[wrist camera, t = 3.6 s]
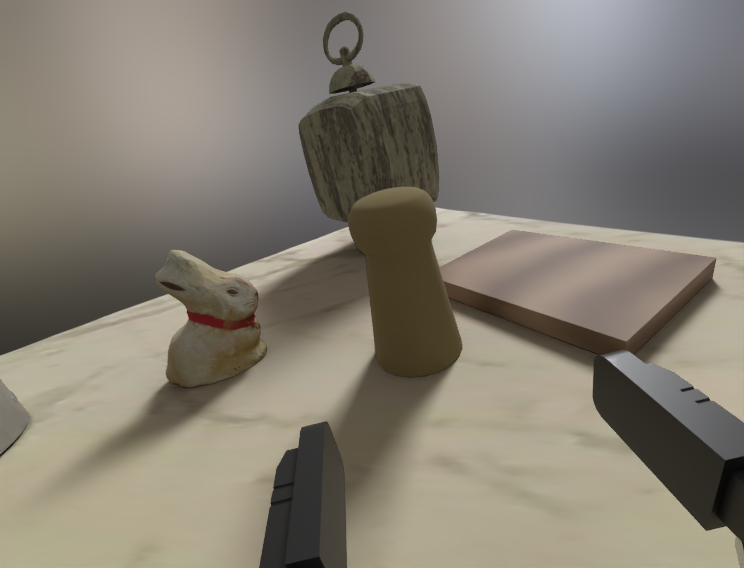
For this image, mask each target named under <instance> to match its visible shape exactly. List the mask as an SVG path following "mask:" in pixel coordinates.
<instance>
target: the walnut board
mask: <svg viewBox="0 0 744 568" xmlns="http://www.w3.org/2000/svg"><path fill="white" fill-rule="evenodd" d="M715 263H716V258H714V257H707V256H699V255H692V254H685V253H678V252H670V251H663V250H656V249H648V248H641V247H634V246H627V245H619V244H612V243H605V242H597V241H590V240H583V239H576V238H568V237H561V236H554V235H546V234H539V233H532V232H525V231H517V230H510V231H509V232H507V233H505V234H503V235H501V236H499V237H497V238H495V239H493V240H491V241H489V242H487V243H486V244H484V245H482V246H480V247H478V248H476V249H474V250H472V251H470V252H468V253H466V254H464V255H463V256H461V257H459V258H457V259H455V260H453V261H451V262H449V263H447V264H445V265H443V266H441V267H439V269H440V272H441V275H442V278H443V282H444V285H445V288H446V291H447V295H448V297H449V298H451V299H454V300H456V301H459V302H462V303H464V304H467V305H470V306H472V307H475V308H478V309H480V310H483V311H486V312H488V313H491V314H493V315H496V316H499V317H501V318H504V319H507V320H509V321H512V322H515V323H517V324H520V325H523V326H525V327H528V328H530V329H533V330H536V331H538V332H541V333H544V334H546V335H549V336H552V337H554V338H557V339H560V340H562V341H565V342H567V343H570V344H573V345H575V346H578V347H581V348H583V349H586V350H589V351H591V352H594V353H597V354H599V355H604V354H608V353H612V352H616V351H620V350H627V351H629V352H630V353H632V354H633V355H634V354H635V353H636V352H637V351H638V350H639V349H640V348H641V347H642V346H643V345H644V344H645V343H646V342H647V341H648V340H649V339H650V338H651V337H652V336H654V335H655V334H656V333H657V332H658V331H659V330H660V329H661V328H662V327H663V326H664V325H665V324H666V323H667V322H668V321H669V320H670V319H671V318H672V317H673V316H674V315H675V314H676V313H677V312H678V311H679V310H680V309H681V308H682V307H683V306H684V305H685V304H686V303H687V302H688V301H689V300H690V299H691V298H692V297H693V296H694V295H695V294H696V293H697V292H698V291H699V290H700V289H702V288H703V287H704V286H705V285H706V284H707V283H708V282H709V281H710V280H711V279H712V278H713V273H714V268H715Z"/></svg>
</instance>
